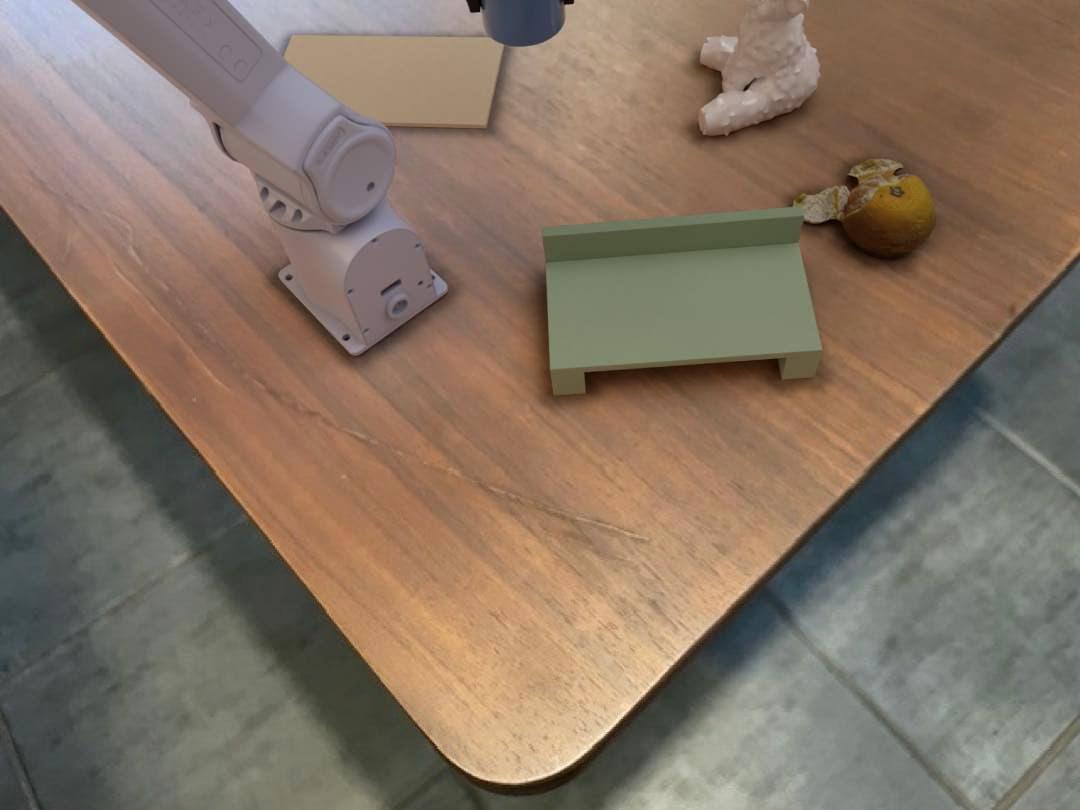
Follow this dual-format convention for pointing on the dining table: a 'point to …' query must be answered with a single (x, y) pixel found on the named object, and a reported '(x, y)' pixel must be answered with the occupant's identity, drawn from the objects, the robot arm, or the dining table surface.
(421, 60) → the mat
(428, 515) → the dining table surface
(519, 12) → the cup
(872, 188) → the fruit
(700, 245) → the shelf
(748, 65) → the seated beast figurine
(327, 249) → the robot arm
